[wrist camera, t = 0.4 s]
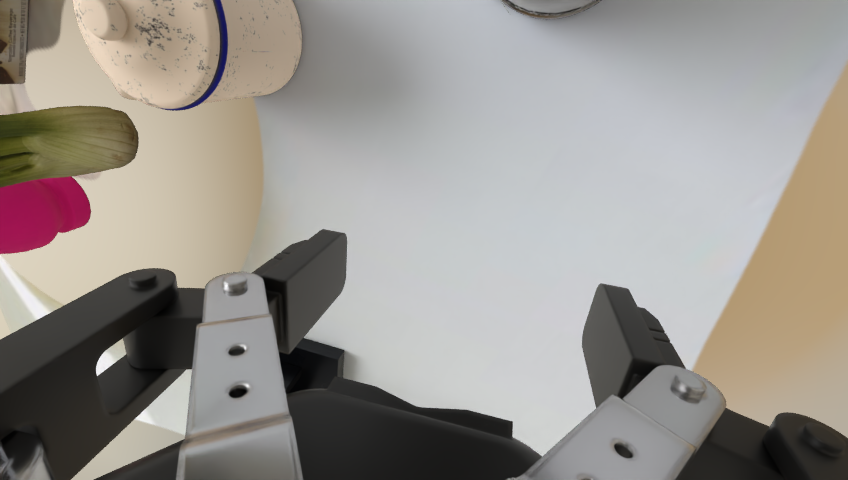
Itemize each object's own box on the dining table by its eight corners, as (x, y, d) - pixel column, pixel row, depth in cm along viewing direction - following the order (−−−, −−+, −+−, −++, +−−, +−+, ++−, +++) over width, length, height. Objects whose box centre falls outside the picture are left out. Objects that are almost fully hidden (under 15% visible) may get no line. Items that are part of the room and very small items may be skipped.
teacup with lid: (253, -76, 26) (68, -167, 16) (331, 54, 28) (214, 49, 18) (153, 35, 31) (-39, 22, 21) (226, 139, 33) (86, 174, 23)
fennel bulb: (123, 92, 34) (-66, 106, 23) (161, 144, 35) (-2, 180, 24) (90, 127, 36) (-97, 154, 25) (126, 174, 37) (-37, 219, 26)
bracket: (344, 350, 39) (254, 487, 27) (339, 420, 44) (260, 566, 31) (237, 318, 41) (105, 432, 28) (242, 388, 46) (130, 514, 33)
